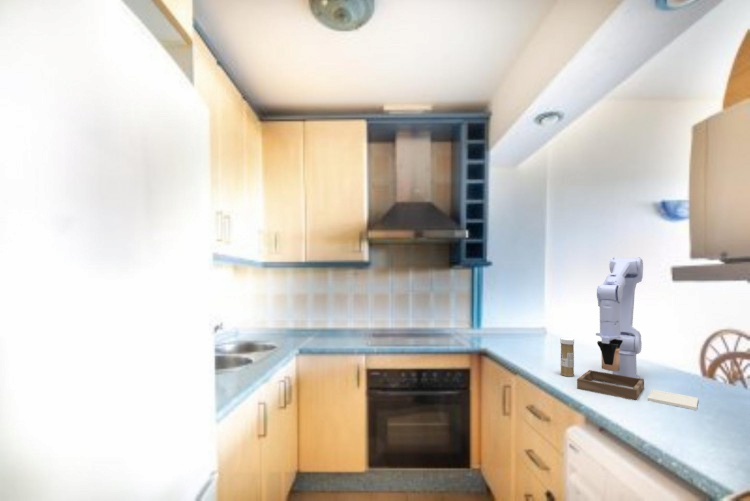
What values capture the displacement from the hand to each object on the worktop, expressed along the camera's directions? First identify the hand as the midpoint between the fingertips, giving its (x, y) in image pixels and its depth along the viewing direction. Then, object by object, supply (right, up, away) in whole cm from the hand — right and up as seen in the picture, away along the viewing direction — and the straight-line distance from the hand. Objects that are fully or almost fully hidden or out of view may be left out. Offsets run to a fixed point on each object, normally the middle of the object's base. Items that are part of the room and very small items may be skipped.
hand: (610, 362), depth 124 cm
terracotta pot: (0, -2, 0) cm, 2 cm away
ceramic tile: (+12, -8, -11) cm, 18 cm away
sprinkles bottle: (-7, -9, +15) cm, 19 cm away
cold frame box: (0, -8, 0) cm, 8 cm away
